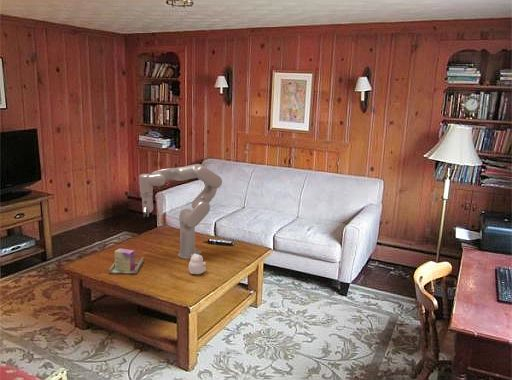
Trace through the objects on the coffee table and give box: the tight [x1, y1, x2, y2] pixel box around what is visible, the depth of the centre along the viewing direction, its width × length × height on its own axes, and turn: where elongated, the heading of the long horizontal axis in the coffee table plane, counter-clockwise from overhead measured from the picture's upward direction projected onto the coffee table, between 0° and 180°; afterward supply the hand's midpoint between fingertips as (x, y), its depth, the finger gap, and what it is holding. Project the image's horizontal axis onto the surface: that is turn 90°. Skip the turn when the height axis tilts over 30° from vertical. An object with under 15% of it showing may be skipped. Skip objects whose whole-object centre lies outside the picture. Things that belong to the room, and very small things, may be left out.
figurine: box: [188, 253, 207, 275], centre depth 257 cm, size 10×10×12 cm
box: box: [114, 247, 136, 272], centre depth 256 cm, size 10×6×12 cm, turn 76°
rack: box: [108, 256, 145, 276], centre depth 262 cm, size 16×20×3 cm
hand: (148, 220), depth 268 cm, fingers open, 9 cm apart
